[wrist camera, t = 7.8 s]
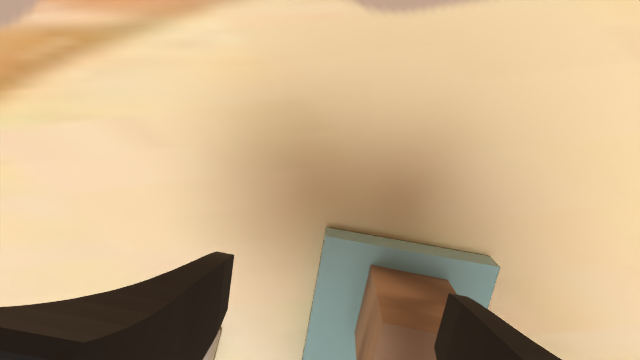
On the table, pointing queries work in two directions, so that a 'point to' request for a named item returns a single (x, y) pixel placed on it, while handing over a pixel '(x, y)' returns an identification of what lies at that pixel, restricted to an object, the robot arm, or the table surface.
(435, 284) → the walnut block
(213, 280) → the robot arm
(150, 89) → the table surface
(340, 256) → the base board
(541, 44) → the table surface
